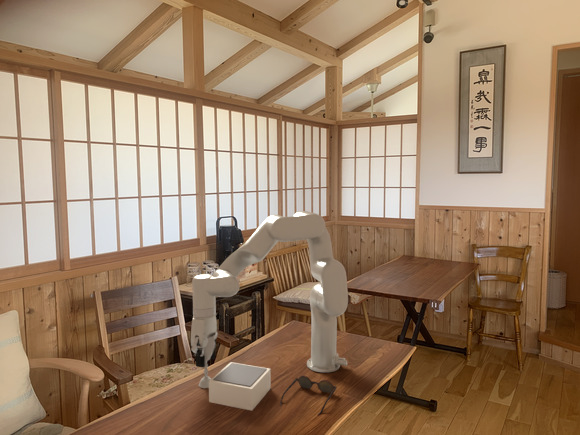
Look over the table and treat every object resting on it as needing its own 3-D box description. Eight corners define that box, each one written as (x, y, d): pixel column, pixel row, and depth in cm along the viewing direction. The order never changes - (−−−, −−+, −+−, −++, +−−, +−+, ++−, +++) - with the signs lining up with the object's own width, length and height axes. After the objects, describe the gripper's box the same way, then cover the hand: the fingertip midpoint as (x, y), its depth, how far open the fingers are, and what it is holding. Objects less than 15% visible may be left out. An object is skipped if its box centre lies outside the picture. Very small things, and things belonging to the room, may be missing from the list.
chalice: (198, 391, 149) (197, 339, 147) (193, 382, 155) (191, 332, 153) (219, 386, 152) (218, 335, 150) (213, 378, 158) (212, 329, 156)
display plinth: (270, 388, 151) (270, 367, 150) (251, 410, 137) (251, 388, 136) (230, 381, 156) (230, 361, 155) (209, 402, 142) (208, 380, 141)
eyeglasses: (336, 395, 147) (336, 380, 147) (321, 417, 134) (321, 401, 133) (296, 386, 153) (296, 372, 153) (277, 407, 140) (277, 392, 139)
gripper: (207, 303, 160) (208, 351, 162) (180, 318, 144) (181, 371, 146) (226, 305, 157) (227, 354, 159) (200, 320, 141) (202, 375, 143)
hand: (205, 362), depth 152 cm, fingers closed on chalice, 6 cm apart
